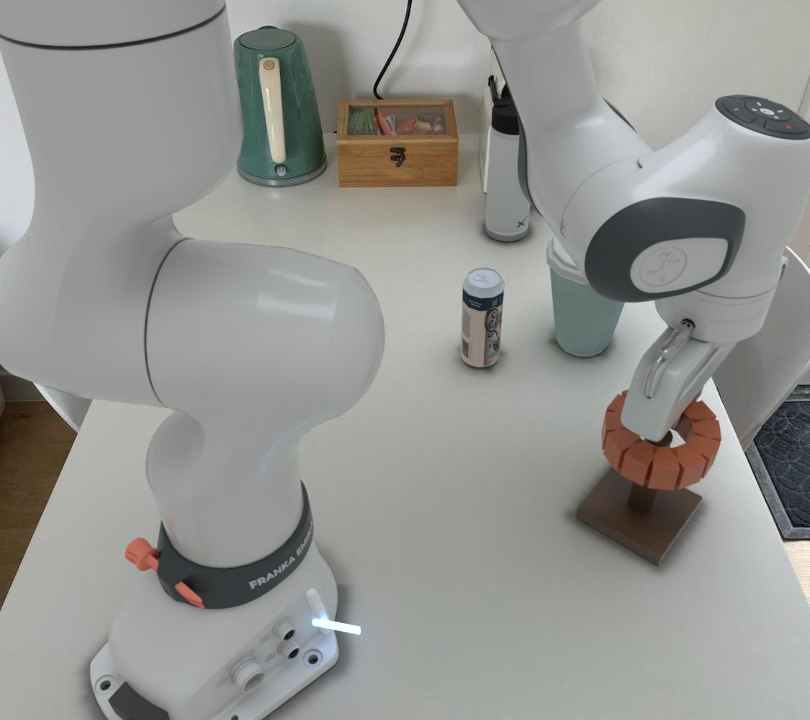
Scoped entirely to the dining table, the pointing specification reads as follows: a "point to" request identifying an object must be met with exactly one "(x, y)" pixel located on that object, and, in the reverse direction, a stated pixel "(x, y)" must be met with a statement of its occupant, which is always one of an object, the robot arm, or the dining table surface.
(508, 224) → the white water bottle
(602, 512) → the stand
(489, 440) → the dining table surface
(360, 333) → the robot arm
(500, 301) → the beer can
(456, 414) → the dining table surface
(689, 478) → the ring
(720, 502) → the dining table surface
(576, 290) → the disposable coffee cup
